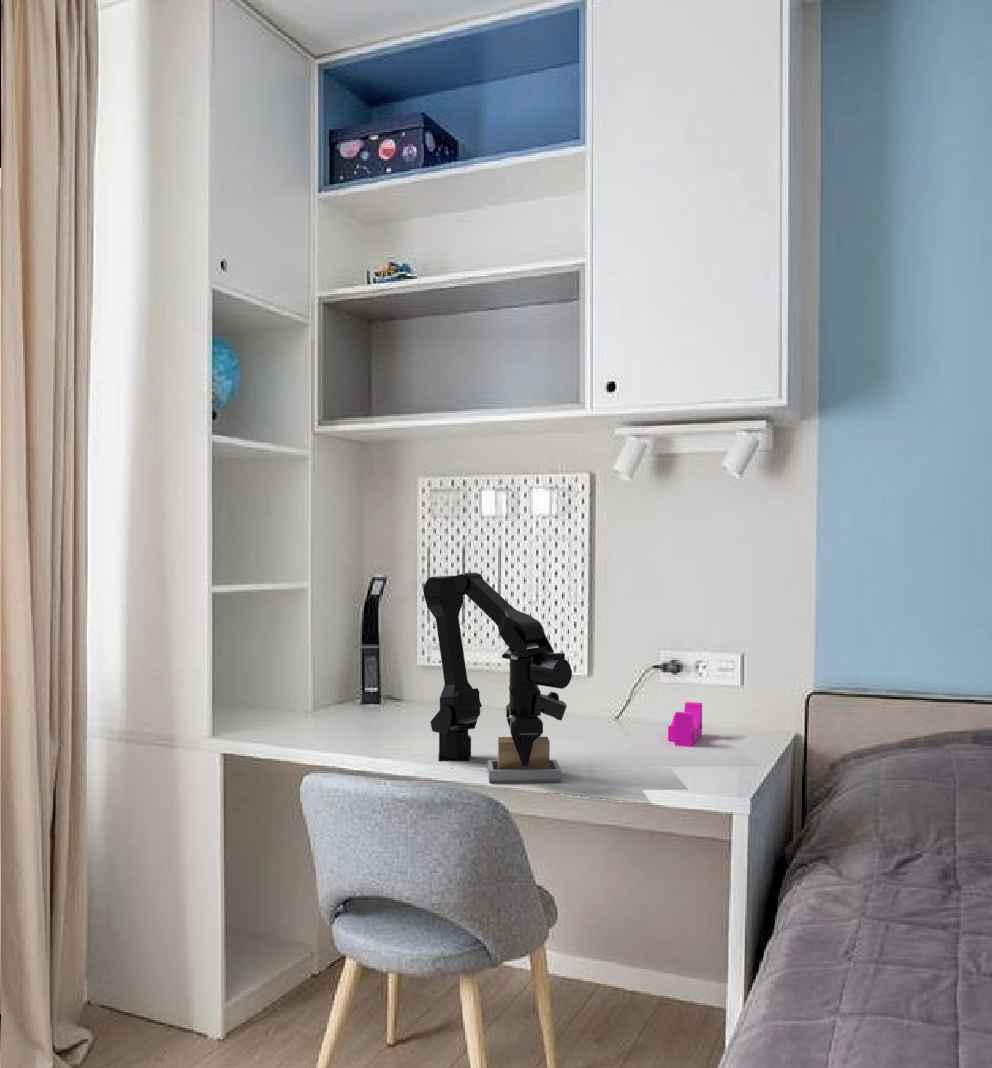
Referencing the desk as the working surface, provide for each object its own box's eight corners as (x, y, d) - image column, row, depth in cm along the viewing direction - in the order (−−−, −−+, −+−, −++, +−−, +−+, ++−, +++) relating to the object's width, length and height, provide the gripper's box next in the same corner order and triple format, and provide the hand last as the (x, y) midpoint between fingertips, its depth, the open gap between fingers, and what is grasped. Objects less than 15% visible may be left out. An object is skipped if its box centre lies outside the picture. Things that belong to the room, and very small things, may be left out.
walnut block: (549, 776, 195) (549, 741, 195) (499, 777, 194) (499, 741, 194) (547, 770, 199) (547, 736, 199) (498, 771, 199) (498, 736, 199)
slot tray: (489, 783, 192) (489, 770, 192) (487, 771, 201) (487, 760, 201) (560, 782, 193) (560, 770, 193) (556, 771, 201) (556, 759, 201)
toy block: (676, 731, 241) (676, 701, 241) (702, 733, 238) (702, 702, 238) (663, 744, 227) (664, 712, 227) (691, 747, 225) (691, 714, 224)
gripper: (569, 690, 188) (568, 771, 188) (558, 675, 206) (558, 749, 206) (511, 690, 187) (510, 772, 187) (506, 675, 206) (505, 749, 206)
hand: (523, 760), depth 197 cm, fingers open, 9 cm apart
